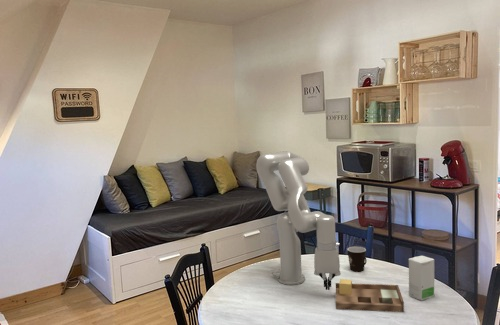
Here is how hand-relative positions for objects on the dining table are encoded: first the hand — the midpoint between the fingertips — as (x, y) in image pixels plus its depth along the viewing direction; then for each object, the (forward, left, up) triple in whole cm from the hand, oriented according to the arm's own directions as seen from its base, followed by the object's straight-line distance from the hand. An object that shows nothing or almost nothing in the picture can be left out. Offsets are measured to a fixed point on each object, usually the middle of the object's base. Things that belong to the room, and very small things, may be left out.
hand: (327, 288), depth 174 cm
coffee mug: (+13, +29, -4) cm, 32 cm away
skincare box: (+37, +4, -4) cm, 38 cm away
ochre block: (+7, 0, -1) cm, 7 cm away
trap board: (+16, -3, -4) cm, 16 cm away
